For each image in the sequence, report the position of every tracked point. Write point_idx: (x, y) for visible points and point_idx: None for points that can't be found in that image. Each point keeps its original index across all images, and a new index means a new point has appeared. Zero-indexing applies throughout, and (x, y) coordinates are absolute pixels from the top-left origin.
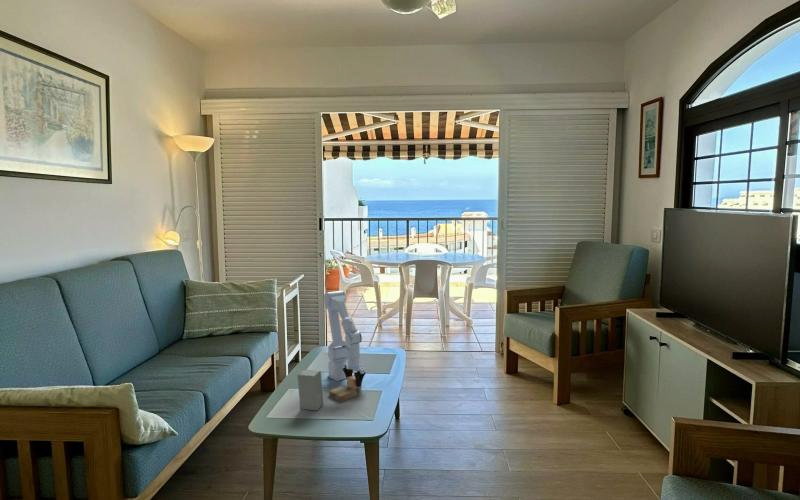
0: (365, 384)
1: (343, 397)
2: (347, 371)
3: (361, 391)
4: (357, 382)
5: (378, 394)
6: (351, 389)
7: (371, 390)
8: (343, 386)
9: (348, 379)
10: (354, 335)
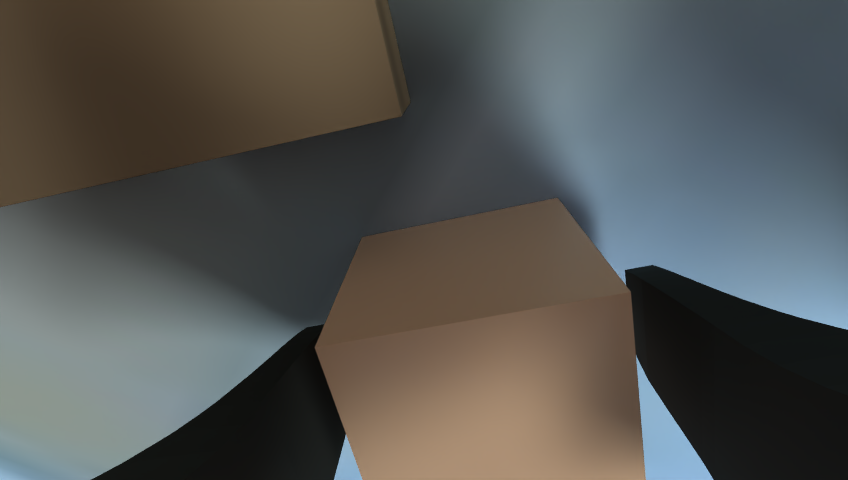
0: None
1: None
2: (816, 461)
3: (243, 327)
4: (239, 387)
5: (51, 464)
6: (78, 145)
7: None
8: (343, 37)
9: (528, 285)
10: None
